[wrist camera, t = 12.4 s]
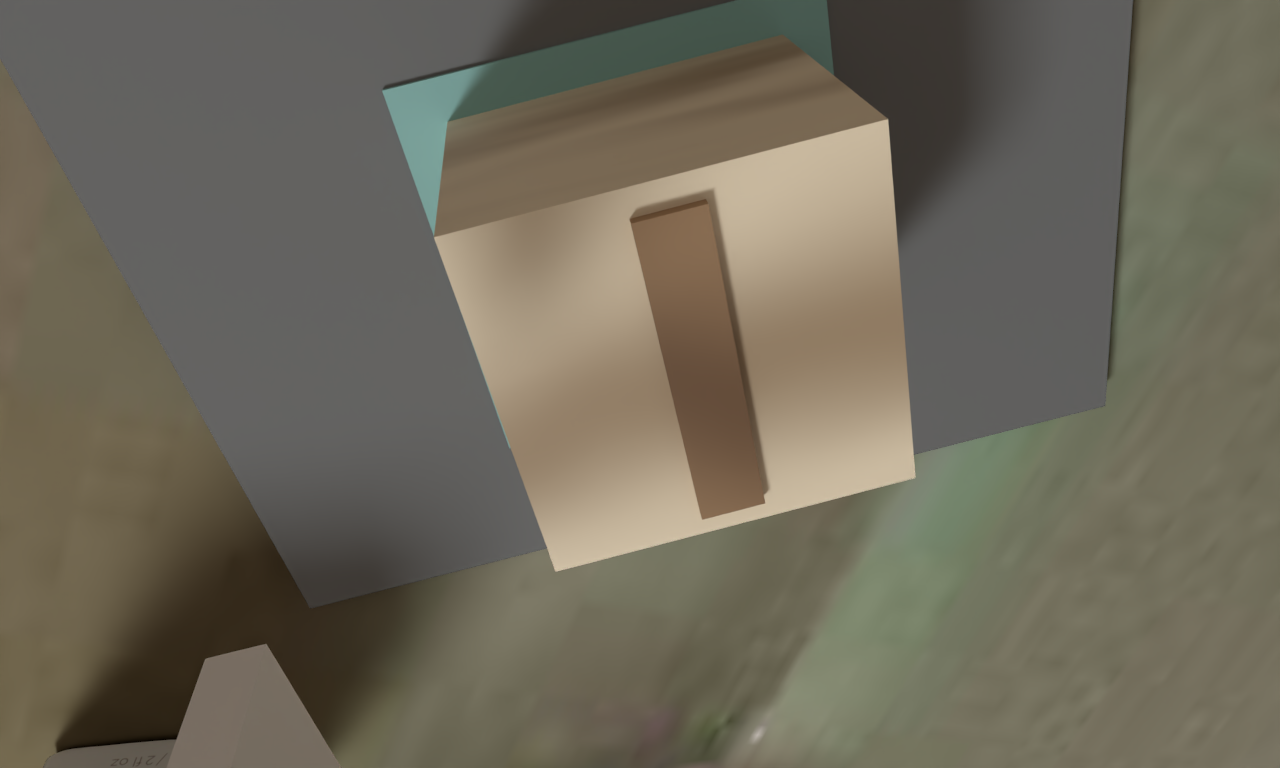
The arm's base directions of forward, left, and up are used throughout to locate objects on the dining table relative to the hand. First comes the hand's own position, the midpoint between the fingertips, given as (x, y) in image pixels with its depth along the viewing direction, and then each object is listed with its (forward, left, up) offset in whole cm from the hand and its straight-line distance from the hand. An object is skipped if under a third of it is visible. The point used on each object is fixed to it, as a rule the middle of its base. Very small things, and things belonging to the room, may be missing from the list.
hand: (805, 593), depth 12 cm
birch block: (0, 0, -11) cm, 11 cm away
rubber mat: (0, 0, -12) cm, 12 cm away
